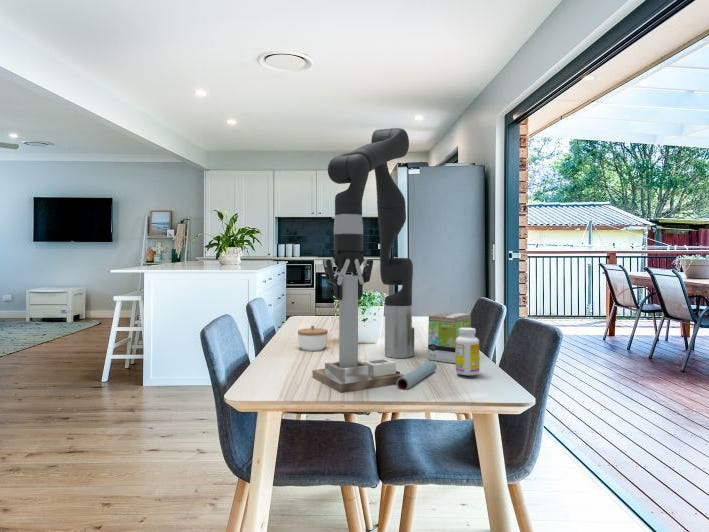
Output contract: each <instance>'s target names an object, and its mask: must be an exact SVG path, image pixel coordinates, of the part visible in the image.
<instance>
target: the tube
mask: <svg viewBox="0 0 709 532" xmlns="http://www.w3.org/2000/svg"><path fill="white" fill-rule="evenodd" d="M358 278H359V276H353V275H352V274H349V275H348V274H345V276H344V277H343V280H342V283H341V285H342V300H338V361H339V367H341V368H350V367H358V361H359V299H358Z"/></svg>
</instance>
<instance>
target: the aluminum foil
mask: <svg viewBox="0 0 709 532" xmlns="http://www.w3.org/2000/svg"><path fill="white" fill-rule="evenodd" d="M436 370H437V364H436V363H435V361H434V360H428V361H425V363H423V364H421V365H420V366H418V367H416V368H414V369H413V370H411V371H409V372H407V373H405V374H403V375H404V376H402V377H400V378H398V380H397V382H396V384H395V385H396V387H397V389H399V390H406V391H407V390H409V389H410V388H412V387H413V386H415V385H416V384H418V383H419V382H421V381H422V380H424V379H425V378H427V377H428V376H430V375H431V374H432V373H434V372H436Z"/></svg>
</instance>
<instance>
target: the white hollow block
mask: <svg viewBox="0 0 709 532" xmlns="http://www.w3.org/2000/svg"><path fill="white" fill-rule="evenodd" d="M363 363H366V364H369V365H371V366H372V375H373V377H377V376H384V375H391V374H396V371H397V362H396V361H392V360H390V359H386V358H384V359H375V360H367V361H363Z"/></svg>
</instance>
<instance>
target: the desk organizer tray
mask: <svg viewBox="0 0 709 532" xmlns="http://www.w3.org/2000/svg"><path fill="white" fill-rule="evenodd" d="M404 375H405V374H404V373H401V372H400V371H399V370H396V374H391V375H384V376H377V377H373V375H372V366H371V365H369V364H366V363H364V361H361V360H358V367H350V368H341V367H339V360H338V361H331V362H330V361H329V362H324V368H319V369H312V378H313V379H314V380H317V381H319V382H321V383H322V384H324V385H326V386H328V387H329V388H332V389H333V390H335V391H337V392H339V393H347V392H353V391H361V390H365V389H372V388H378V387H386V386H391V385H397V384H396V382H397V380H398V378H400V377H402V376H404Z"/></svg>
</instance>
